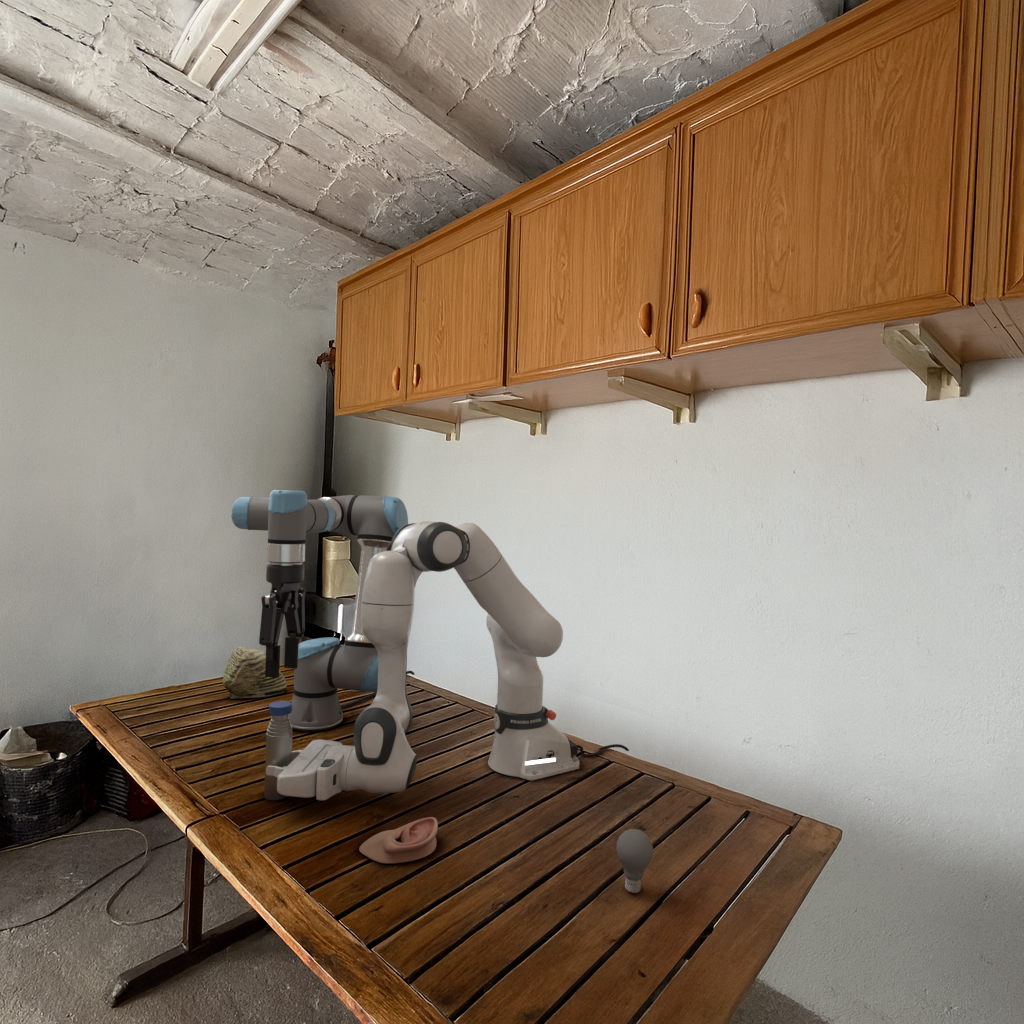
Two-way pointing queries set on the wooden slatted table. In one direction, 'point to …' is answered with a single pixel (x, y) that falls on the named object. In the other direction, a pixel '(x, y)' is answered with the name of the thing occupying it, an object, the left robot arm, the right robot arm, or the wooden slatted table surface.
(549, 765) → the right robot arm
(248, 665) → the fossil
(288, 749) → the bottle
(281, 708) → the cap
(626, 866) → the light bulb
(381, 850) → the anatomical model
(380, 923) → the wooden slatted table surface
